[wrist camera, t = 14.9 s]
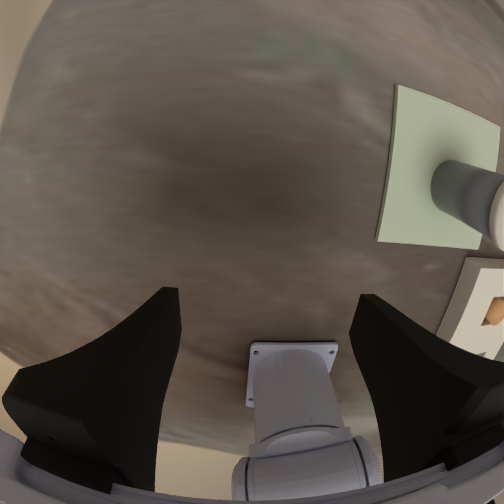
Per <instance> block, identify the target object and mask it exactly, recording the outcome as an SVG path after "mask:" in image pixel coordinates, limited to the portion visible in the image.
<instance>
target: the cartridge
mask: <svg viewBox="0 0 504 504" xmlns="http://www.w3.org/2000/svg"><path fill="white" fill-rule="evenodd" d="M431 196H432V200H433V202H434V204H435V205H436V207H437V208H438V209H440V210H441V211H443V212H445V213H447V214H448V215H450V216H452V217H454V218H456V219H457V220H459V221H461V222H463V223H464V224H466V225H468V226H470V227H471V228H473V229H475V230H476V231H478V232H480V233H481V234H483V235H485V236H486V237H488V238H489V239H491V240H492V241H493V243H494V244H495V246H497V247H498V248H499V249H501V250H502V251H504V175H502V174H499V173H496V172H493V171H489V170H486V169H483V168H480V167H476V166H473V165H469V164H466V163H462V162H459V161H455V160H446V161H444V162H442V163H441V164H440V165H439V166H438V167H437V168H436V170H435V172H434V174H433V176H432V180H431Z"/></svg>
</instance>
